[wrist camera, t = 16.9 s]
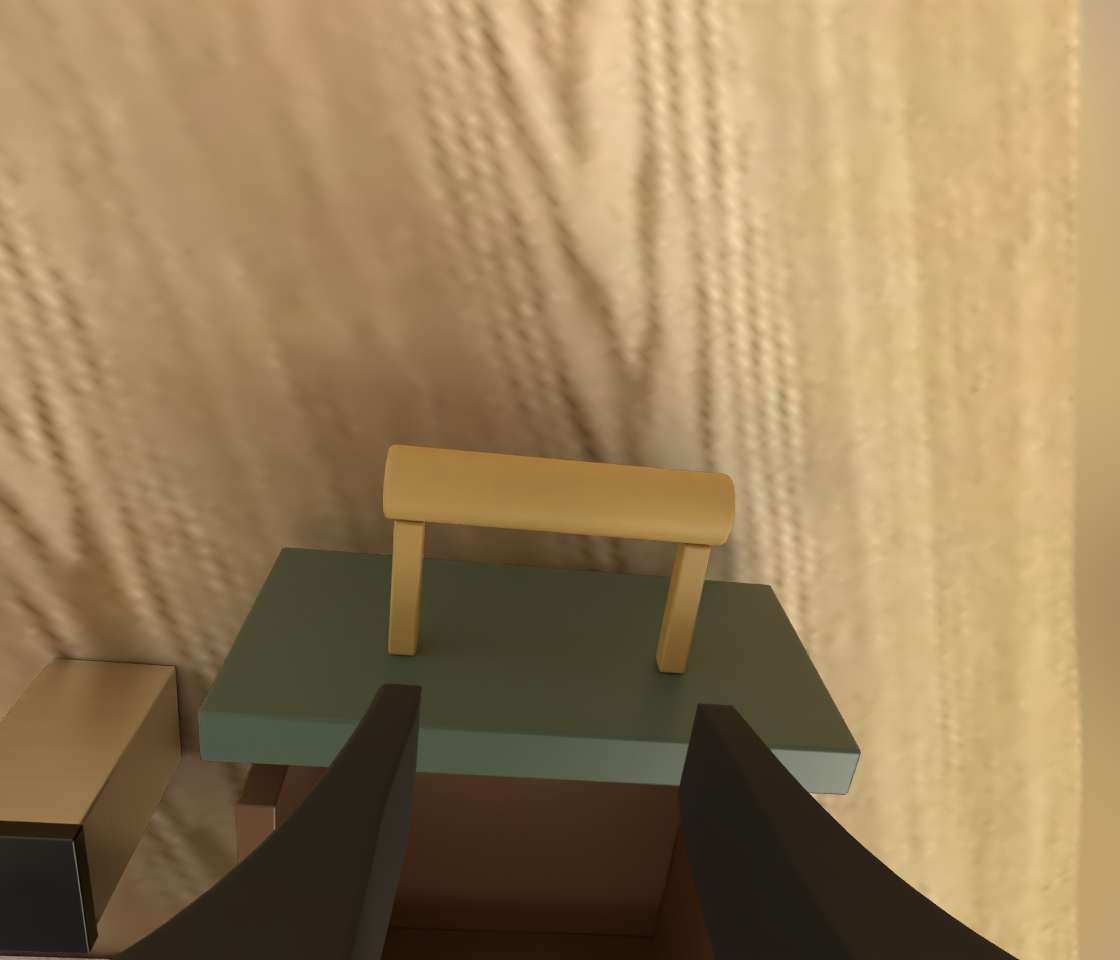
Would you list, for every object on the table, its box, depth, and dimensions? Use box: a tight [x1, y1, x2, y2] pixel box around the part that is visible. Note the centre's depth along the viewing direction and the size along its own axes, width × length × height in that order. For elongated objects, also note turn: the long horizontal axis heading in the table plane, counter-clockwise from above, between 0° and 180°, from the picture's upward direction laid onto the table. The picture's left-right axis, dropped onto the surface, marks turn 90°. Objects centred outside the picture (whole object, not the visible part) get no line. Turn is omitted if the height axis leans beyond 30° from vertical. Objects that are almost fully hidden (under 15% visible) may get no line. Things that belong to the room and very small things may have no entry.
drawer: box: [198, 444, 860, 960], centre depth 22 cm, size 18×13×7 cm
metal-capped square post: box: [0, 659, 182, 954], centre depth 22 cm, size 4×4×6 cm
